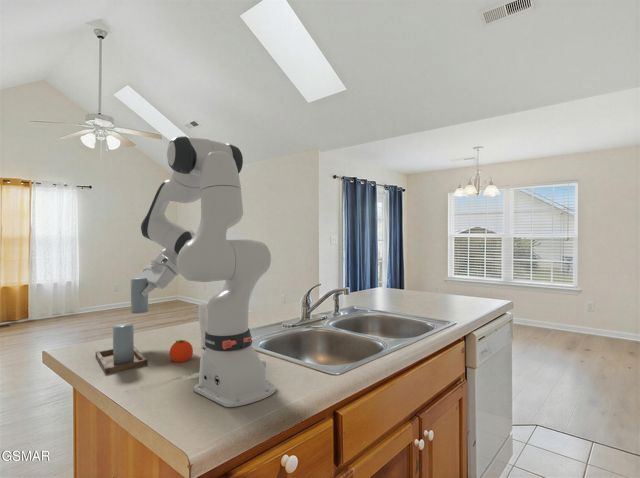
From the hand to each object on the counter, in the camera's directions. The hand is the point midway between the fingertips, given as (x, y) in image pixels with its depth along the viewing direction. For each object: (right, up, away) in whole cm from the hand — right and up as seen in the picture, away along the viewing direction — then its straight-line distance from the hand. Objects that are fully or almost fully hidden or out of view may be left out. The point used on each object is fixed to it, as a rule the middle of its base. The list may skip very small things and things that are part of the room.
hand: (137, 294), depth 129 cm
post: (+1, -6, +1) cm, 6 cm away
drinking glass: (+25, -19, +1) cm, 32 cm away
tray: (+2, -19, -15) cm, 25 cm away
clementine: (+21, -20, -14) cm, 32 cm away
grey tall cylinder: (+6, -18, -19) cm, 27 cm away
